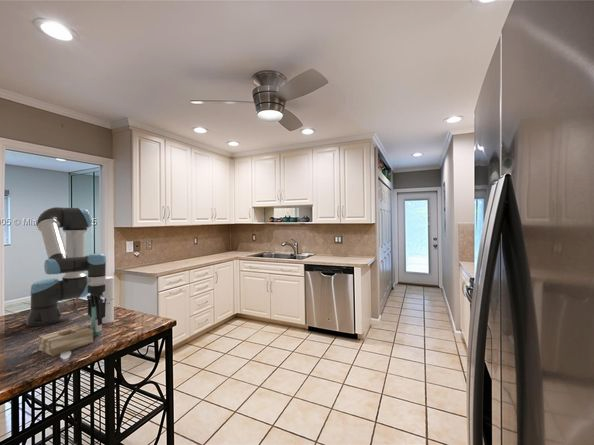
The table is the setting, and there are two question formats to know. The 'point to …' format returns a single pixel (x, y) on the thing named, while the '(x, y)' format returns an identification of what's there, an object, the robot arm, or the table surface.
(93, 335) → the pin
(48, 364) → the table surface
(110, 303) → the cylindrical container
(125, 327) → the table surface
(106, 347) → the table surface
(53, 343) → the block
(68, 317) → the table surface
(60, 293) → the robot arm
